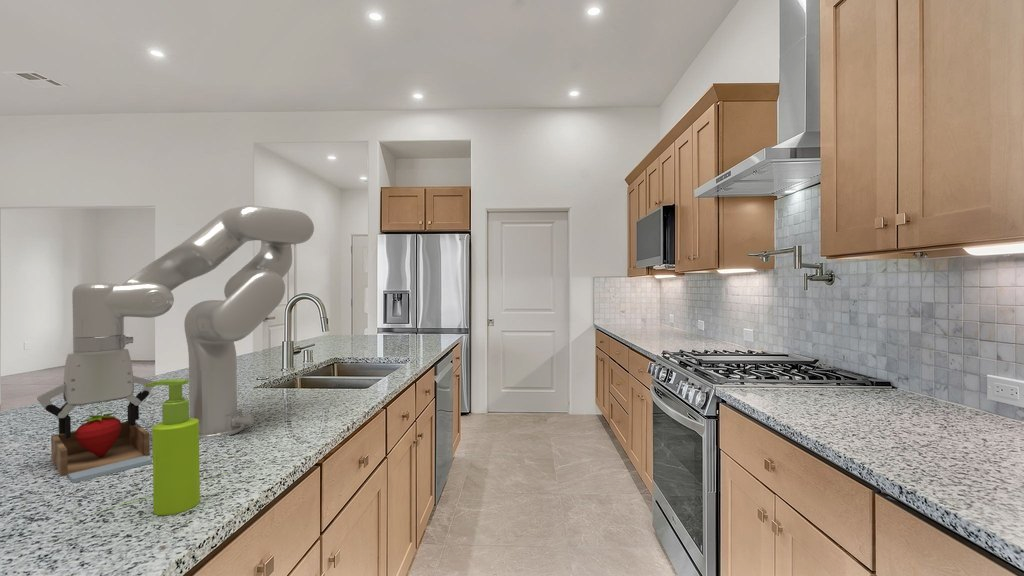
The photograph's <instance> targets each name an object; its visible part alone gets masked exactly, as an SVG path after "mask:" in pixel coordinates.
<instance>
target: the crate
mask: <svg viewBox="0 0 1024 576" xmlns="http://www.w3.org/2000/svg"><path fill="white" fill-rule="evenodd" d="M120 422H121V424H122V426H121V430H120V434H119V436H118V437H117V439H116V441H115V442H114V444H113V445H112V446H111V448H110V449H109V450H108V452H107V453H106V454H105V455H104V456H102V457H98V456H96V455H95V454H93V453H91V452H89V451H87V450H86V449H85V448H83V447H82V446H81V445H79V443H78V441H77V439H76V437H75V434H76V430H73V431H72V430H71V437H69V438H66V439H65V437H64V435H63V434H59V433H56V434H52V435H51V436H50V440H51V442H50V443H51V447H50V448H51V449H50V450H51V451H50V452H51V460H52V462H53V464H54V466H55V468H56V470H57V471H58V473H59V475H60V476H61V477H66V476H67V474H69V473H74V472H78V471H82V470H86V469H90V468H95V467H99V466H103V465H107V464H112V463H116V462H120V461H124V460H128V459H133V458H137V457H141V456H145V455H146V456H147V457H149V456H150V455H151V454H150V432H149V431H147V430H146V429H145V428H144V427H142V426H141V425H139V424H138V423H137V422H136V425H133V426H132V425H130V424H128V420H127V421H120Z"/></svg>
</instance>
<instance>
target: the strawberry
mask: <svg viewBox="0 0 1024 576" xmlns="http://www.w3.org/2000/svg"><path fill="white" fill-rule="evenodd" d="M95 408H96V409H97V410H98V411H100V412H101V413H100V414H99V415H98V414H94V415H89V418H88V419H85V420H81V421H80V422H81V423H82V424H81V425H79V427H78V428H77V429H76V430H75V431H76V434H75V437H76V439H77V441H78V443H79V445H81V446H82V447H83V448H85V449H86V450H87V451H89V452H91V453H93V454H95V455H96V456H98V457H102V456H104V455H105V454H106V453H107V452H108V450H109V449H110V448H111V446H112V445H113V444H114V442H115V441H116V439H117V437H118V436H119V434H120V430H121V426H122V424H121V422H122V421H121V420H120V419H119V418H117V417H116V416H114V414H115V412H112V413H105V414H104V413H103V411H102V410H100V409H99V408H98V407H97V406H95Z"/></svg>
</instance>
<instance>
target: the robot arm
mask: <svg viewBox="0 0 1024 576" xmlns="http://www.w3.org/2000/svg"><path fill="white" fill-rule="evenodd" d="M314 232H315V227H314V222H313V220H312V219H311V218H310V216H309V215H307V214H306V213H305V212H302V211H299V210H295V209H286V208H285V209H284V208H277V207H276V208H275V207H269V206H268V207H267V206H260V205H242V206H237V207H233V208H229V209H226V210H224V211H222V212H221V213H220V214H218V215H217V216H216V217H214V218H213V219H212V220H210V221H208V222H207V224H205V225H204V226H202V227H201V228H200V229H199V230H198V231H196V232H194V233H193V234H192V235H191V236H189V237H188V238H187V239H186V240H184V241H183V242H182V243H180V244H178V245H177V246H175V247H173V248H172V249H170V250H169V251H168V252H166V253H165V254H163V255H162V256H160V257H158V258H156V259H155V260H153V261H152V262H150V263H149V264H148V265H146V266H144V267H143V268H142V269H140V270H139V271H138V272H136V273H135V274H134V275H133V276H131V277H130V278H128V279H127V280H126V281H125V282H123V283H122V284H116V283H104V282H103V283H102V282H101V283H99V282H98V283H82V284H81V283H80V284H77V285H76V286H74V287H73V289H72V295H71V296H72V298H71V299H72V300H71V301H72V348H73V349H72V350H73V351H72V352H71V353H68V354H67V356H66V360H65V364H64V371H63V372H64V373H63V384H62V383H61V384H60V385H59V386H56V387H54V388H52V389H51V390H49V391H46V392H44V393H43V394H41V395H38V396H37V399H36V400H37V401H38V403H39V404H40V405H41V406H42V408H44V410H45V411H46V412H48V413H49V414H51V415H54V416H56V417H57V418H58V434H63V435H64V437H65V439H66V438H69V437H71V432H72V429H71V428H72V427H71V425H72V424H71V416H70V415H69V414H70V413H71V412H72V411H73V410H74V409H75V408H76V407H77V406H78V407H79V406H85V405H93V404H98V403H105V402H111V401H117V400H124V399H126V401H128V405H126V406H127V421H128V424H130V425H132V426H133V425H136V423H137V422H136V421H138V420H140V411H139V409H140V406H139V405H141V404H142V403H143V401H144V400H145V399H146V398H147V397H149V395H150V393H151V391H152V390H153V388H154V386H151V387H146V386H145V385H146V384H149V383H152V382H154V381H153V380H151V379H146V378H143V377H139V376H136V375H134V372H133V365H132V359H131V355H130V352H129V349H127V348H126V346H127V345H129V344H133V343H134V337H133V336H126V334H125V326H124V325H125V322H124V321H125V319H124V318H125V317H127V318H128V317H129V318H131V317H132V318H144V319H145V318H146V319H147V318H148V319H149V318H150V319H151V318H157V317H159V316H160V317H161V316H162V315H165V314H166V313H168V312H169V311H170V310H171V309H172V306H173V305H174V301H175V299H174V298H175V297H174V295H173V293H172V291H174V290H175V289H176V288H178V287H179V286H181V285H182V284H184V283H186V282H188V281H191V280H192V279H193V280H194V279H196V278H198V277H202V276H203V275H206V274H208V273H209V272H212V271H214V270H215V269H216V268H217V267H219V266H220V265H222V263H223V262H224V261H226V260H227V259H228V258H230V257H231V255H233V253H234V252H236V251H238V249H239V248H241V247H242V246H243V245H244V244H245V243H247V242H253V241H260V245H261V246H260V250H259V251H258V252H257V254H256V255H255V256H254V257H253V258H252V259H251V260H250V261H249V262H248V263H246V264H245V265H244V266H243V267H242V268H240V269H239V270H238V271H237V272H236V273H235V274H234V275H233V276H231V277H229V279H228V280H227V282H226V283H225V285H224V290H223V293H224V297H225V299H224V300H223V299H222V300H220V299H219V300H214V299H211V300H210V299H209V300H203V301H200V302H198V303H196V304H194V305H193V306H192V307H191V308H189V310H188V311H187V313H186V315H185V317H184V325H183V328H184V333H185V338H186V339H185V340H186V345H187V350H188V351H187V352H188V393H189V394H188V398H189V399H188V400H189V418H195V419H198V420H199V439H200V438H202V439H204V438H211V437H218V436H222V435H227V436H232V435H235V434H237V433H240V432H242V431H243V430H244V429H245V428H246V425H250V426H251V425H253V424H254V423H255V422H254V421H255V417H254V415H253V414H243V412H242V409H241V408H240V409H238V379H237V378H238V377H237V374H238V372H237V369H238V368H237V365H238V363H237V362H238V361H237V360H238V359H237V351H236V350H237V349H236V345H235V342H238V341H242V340H243V339H244V338H246V337H248V336H249V335H250V334H251V333H252V332H253V331H254V330H256V329H257V327H258V326H260V324H261V323H263V322H264V320H266V319H267V317H268V316H269V315H270V314H271V313H272V312H274V311H275V309H277V307H278V306H279V305H280V304H281V302H282V300H283V299H284V296H285V294H286V284H285V281H284V279H283V278H284V277H285V276H286V275H287V273H289V271H290V269H291V267H292V264H293V250H292V249H293V248H292V245H297V244H299V245H300V244H303V243H306V242H308V241H309V240H310V239H311V238H312V236H313V234H314ZM135 384H139V385H140V386H141V385H142V386H143V389H142V390H141V391H140V392H138V394H136V396H135V395H134V391H135ZM61 394H62V395H63V401H64V403H63V404H62V405H61V406H60V407H58V406H56V405H55V404H53V403H52V402H51V399H53V398H55V397H57V396H59V395H61Z"/></svg>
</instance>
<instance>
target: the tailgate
mask: <svg viewBox="0 0 1024 576" xmlns="http://www.w3.org/2000/svg"><path fill="white" fill-rule="evenodd" d="M150 464H153V458H150V457H149V456H146V455H145V456H141V457H137V458H133V459H128V460H124V461H120V462H116V463H112V464H107V465H103V466H99V467H95V468H90V469H86V470H82V471H78V472H74V473H69V474H67V477H68V478H69V480H70V482H71V483H72V484H75V483H79V482H83V481H86V480H91V479H96V478H99V477H103V476H107V475H111V474H114V473H118V472H124V471H126V470H131V469H135V468H139V467H142V466H147V465H150Z"/></svg>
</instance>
